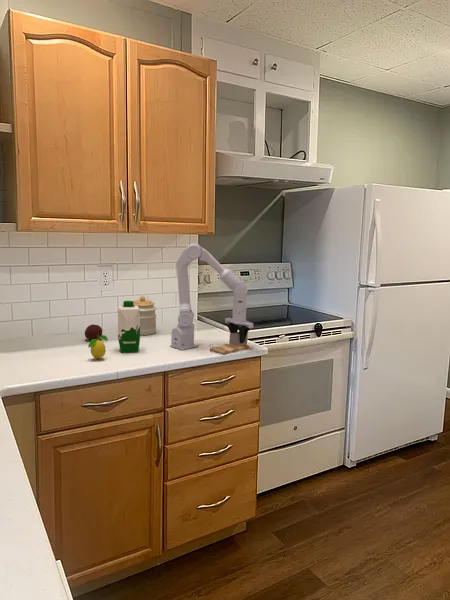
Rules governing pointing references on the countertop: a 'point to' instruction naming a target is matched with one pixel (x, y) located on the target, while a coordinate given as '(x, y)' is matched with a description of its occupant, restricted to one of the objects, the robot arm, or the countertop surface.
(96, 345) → the lemon
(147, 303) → the jar
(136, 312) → the milk carton
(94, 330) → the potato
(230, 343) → the sanding block
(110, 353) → the countertop surface
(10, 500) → the countertop surface
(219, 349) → the board
